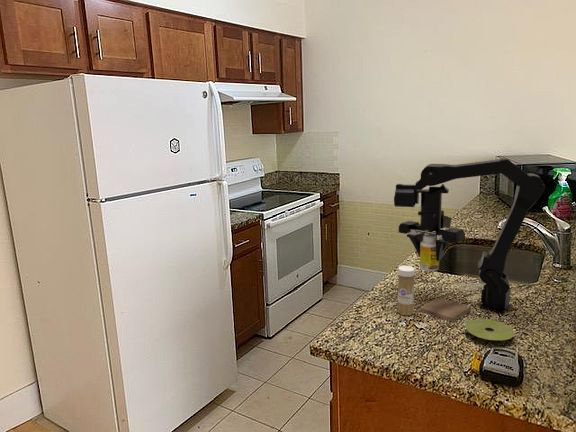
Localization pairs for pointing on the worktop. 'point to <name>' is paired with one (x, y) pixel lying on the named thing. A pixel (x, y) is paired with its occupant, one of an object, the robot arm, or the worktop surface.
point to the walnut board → (445, 309)
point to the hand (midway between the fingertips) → (429, 259)
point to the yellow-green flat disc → (489, 329)
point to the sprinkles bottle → (405, 290)
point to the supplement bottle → (428, 253)
